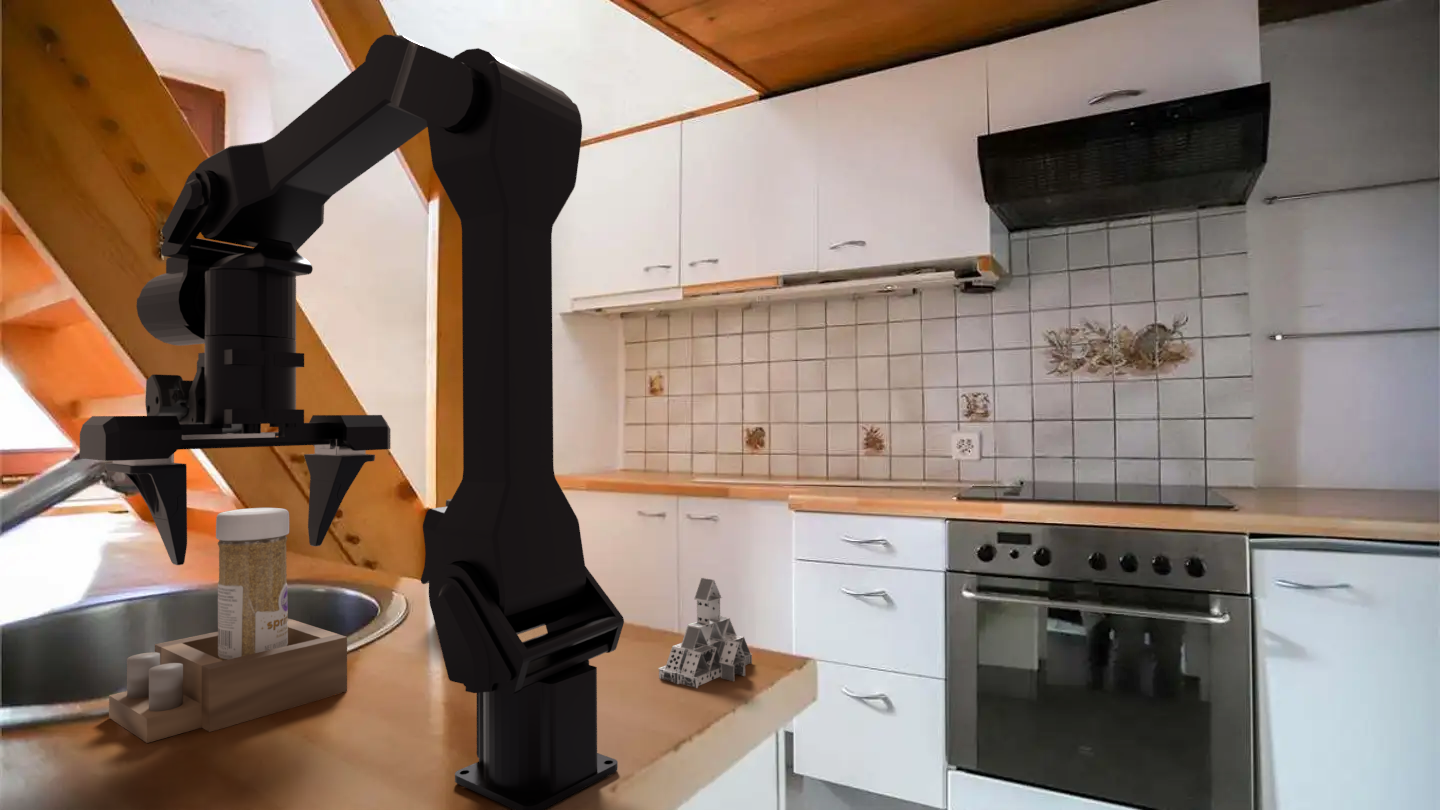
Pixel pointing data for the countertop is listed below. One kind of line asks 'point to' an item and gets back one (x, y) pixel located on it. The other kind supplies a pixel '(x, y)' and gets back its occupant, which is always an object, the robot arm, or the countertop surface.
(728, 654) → the house of cards
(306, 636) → the slot block
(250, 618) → the sprinkles bottle
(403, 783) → the countertop surface
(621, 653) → the countertop surface
